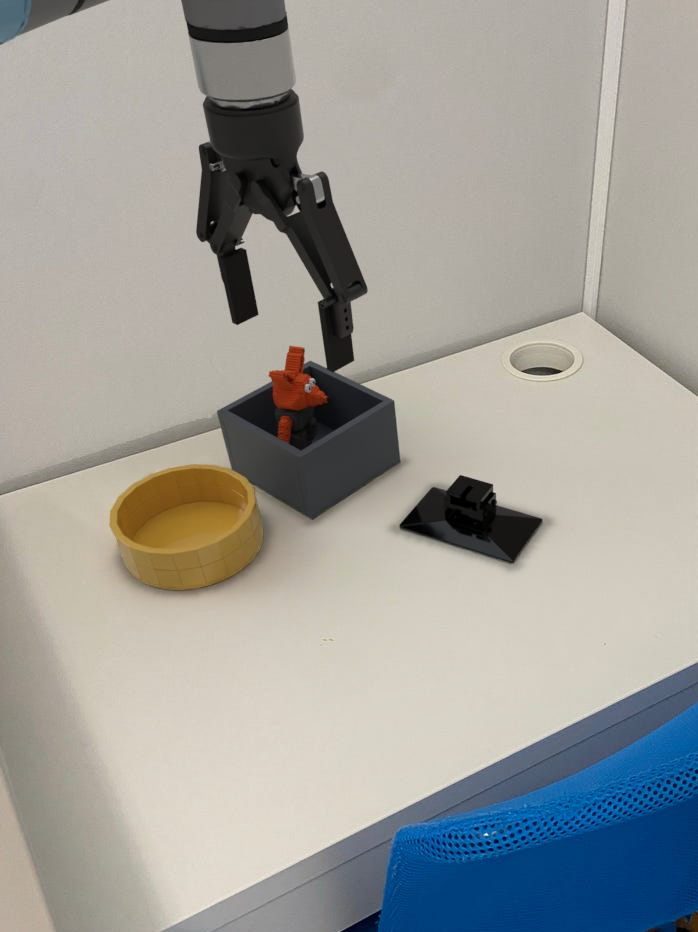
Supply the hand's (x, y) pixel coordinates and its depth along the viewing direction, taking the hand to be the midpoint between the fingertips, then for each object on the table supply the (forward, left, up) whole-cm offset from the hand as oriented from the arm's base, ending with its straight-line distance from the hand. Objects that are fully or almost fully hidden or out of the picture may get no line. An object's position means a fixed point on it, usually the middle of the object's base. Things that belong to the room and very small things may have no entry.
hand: (291, 341), depth 89 cm
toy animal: (+1, 0, -14) cm, 14 cm away
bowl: (0, -16, -14) cm, 21 cm away
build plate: (+19, +3, -15) cm, 24 cm away
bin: (0, 0, -14) cm, 14 cm away
